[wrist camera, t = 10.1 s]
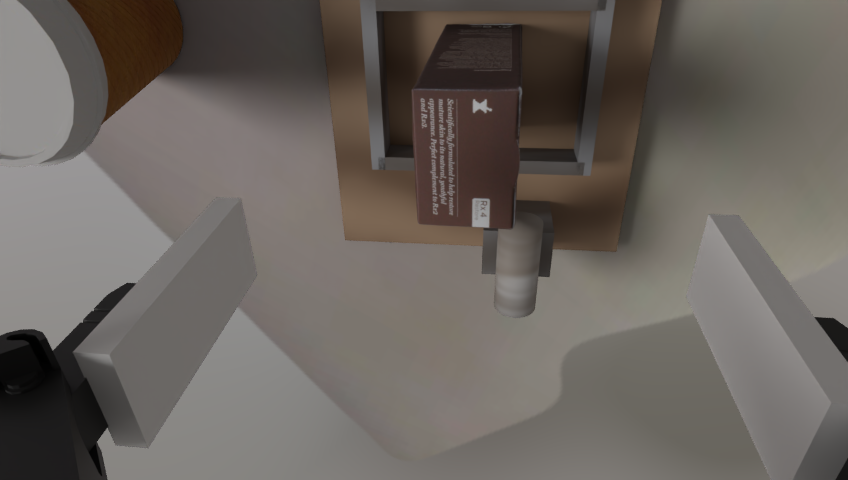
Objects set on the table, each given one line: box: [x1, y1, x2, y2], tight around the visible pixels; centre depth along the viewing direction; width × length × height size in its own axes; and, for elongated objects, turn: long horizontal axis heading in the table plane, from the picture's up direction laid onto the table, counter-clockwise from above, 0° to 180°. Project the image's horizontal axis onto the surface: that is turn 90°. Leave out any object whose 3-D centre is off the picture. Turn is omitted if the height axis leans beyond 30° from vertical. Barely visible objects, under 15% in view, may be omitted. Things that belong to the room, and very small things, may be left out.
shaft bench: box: [319, 0, 662, 318], centre depth 30 cm, size 24×18×8 cm
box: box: [412, 23, 523, 230], centre depth 27 cm, size 6×4×12 cm
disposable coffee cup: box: [0, 0, 183, 167], centre depth 29 cm, size 10×10×12 cm
